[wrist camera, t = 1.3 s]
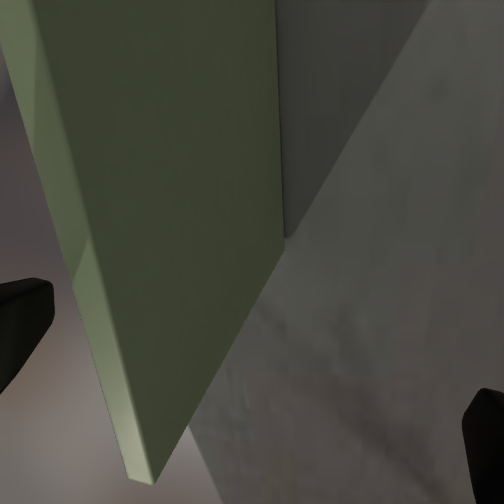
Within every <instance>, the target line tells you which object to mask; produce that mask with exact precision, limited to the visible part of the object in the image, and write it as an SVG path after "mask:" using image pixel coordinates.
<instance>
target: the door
mask: <svg viewBox="0 0 504 504" xmlns="http://www.w3.org/2000/svg"><path fill="white" fill-rule="evenodd" d="M0 44H1V48H2V51H3V54H4V58H5V61H6V65H7V68H8V72H9V75H10V79H11V82H12V85H13V89H14V92H15V96H16V99H17V102H18V106H19V109H20V113H21V116H22V119H23V123H24V126H25V129H26V133H27V136H28V140H29V143H30V147H31V149H32V153H33V156H34V160H35V164H36V167H37V170H38V173H39V177H40V181H41V184H42V187H43V191H44V194H45V197H46V201H47V204H48V208H49V211H50V215H51V218H52V221H53V225H54V228H55V232H56V235H57V238H58V242H59V245H60V249H61V252H62V256H63V259H64V262H65V266H66V269H67V273H68V276H69V279H70V283H71V286H72V290H73V293H74V296H75V300H76V303H77V307H78V310H79V313H80V317H81V320H82V324H83V327H84V330H85V334H86V337H87V340H88V344H89V347H90V351H91V354H92V357H93V361H94V364H95V368H96V371H97V374H98V378H99V381H100V385H101V388H102V392H103V395H104V398H105V402H106V405H107V409H108V412H109V415H110V419H111V422H112V425H113V429H114V433H115V436H116V439H117V443H118V446H119V450H120V453H121V456H122V459H123V463H124V467H125V470H126V473H127V476H128V478H129V479H132V480H135V481H139V482H143V483H146V484H150V485H154V484H155V483H156V481H157V479H158V477H159V475H160V474H161V472H162V470H163V468H164V467H165V465H166V463H167V461H168V459H169V457H170V456H171V454H172V452H173V450H174V448H175V447H176V445H177V443H178V441H179V439H180V437H181V436H182V434H183V432H184V430H185V429H186V427H187V425H188V423H189V421H190V420H191V418H192V416H193V414H194V412H195V411H196V409H197V407H198V405H199V403H200V401H201V400H202V398H203V396H204V394H205V392H206V391H207V389H208V387H209V385H210V383H211V382H212V380H213V378H214V376H215V374H216V373H217V371H218V369H219V367H220V365H221V364H222V362H223V360H224V358H225V356H226V355H227V353H228V351H229V349H230V347H231V345H232V344H233V342H234V340H235V338H236V336H237V335H238V333H239V331H240V329H241V327H242V326H243V324H244V322H245V320H246V318H247V317H248V315H249V313H250V311H251V309H252V308H253V306H254V304H255V302H256V300H257V299H258V297H259V295H260V293H261V291H262V289H263V288H264V286H265V284H266V282H267V280H268V279H269V277H270V275H271V273H272V271H273V270H274V268H275V266H276V264H277V262H278V261H279V259H280V257H281V255H282V253H283V252H284V224H283V199H282V173H281V147H280V121H279V95H278V70H277V44H276V18H275V0H0Z"/></svg>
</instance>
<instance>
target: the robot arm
mask: <svg viewBox="0 0 504 504" xmlns="http://www.w3.org/2000/svg"><path fill="white" fill-rule="evenodd" d="M54 315H55V305H54V288H53V285H52V283H51V282H49V281H46V280H42V279H38V278H28V279H23V280H18V281H12V282H8V283H3V284H0V394H1V393H2V392H3V391H4V389H5V388H6V387H7V386H8V385H9V384H10V382H11V381H12V380H13V379H14V378H15V376H16V375H17V374H18V372H19V371H20V370H21V368H22V367H23V365H24V364H25V362H26V361H27V359H28V358H29V356H30V355H31V354H32V352H33V351H34V349H35V347H36V346H37V345H38V343H39V342H40V340H41V339H42V338H43V336H44V335H45V333H46V332H47V330H48V329H49V327H50V326H51V324H52V321H53V319H54ZM462 432H463V437H464V443H465V449H466V455H467V460H468V466H469V472H470V478H471V483H472V488H473V493H474V497H475V500H476V504H504V393H502V392H499V391H495V390H491V389H487V388H482V389H480V390H479V391H478V392H477V394H476V395H475V397H474V399H473V400H472V402H471V403H470V405H469V407H468V408H467V410H466V411H465V413H464V415H463V418H462Z"/></svg>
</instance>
